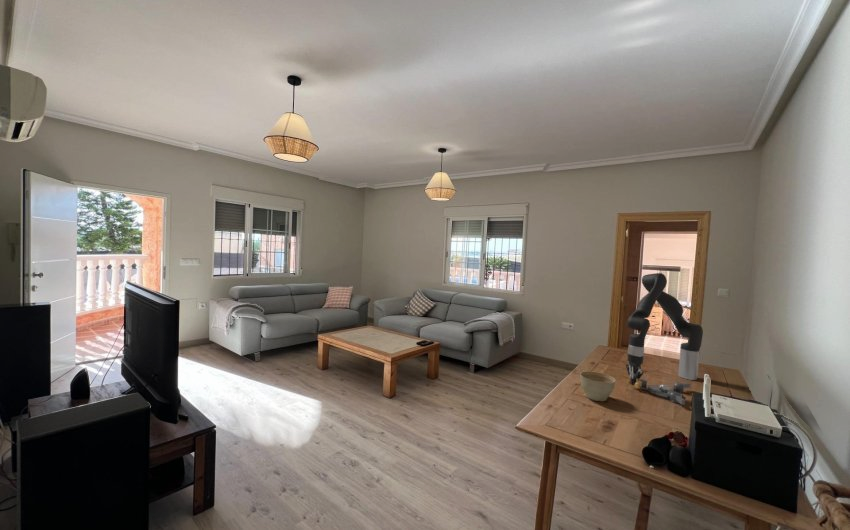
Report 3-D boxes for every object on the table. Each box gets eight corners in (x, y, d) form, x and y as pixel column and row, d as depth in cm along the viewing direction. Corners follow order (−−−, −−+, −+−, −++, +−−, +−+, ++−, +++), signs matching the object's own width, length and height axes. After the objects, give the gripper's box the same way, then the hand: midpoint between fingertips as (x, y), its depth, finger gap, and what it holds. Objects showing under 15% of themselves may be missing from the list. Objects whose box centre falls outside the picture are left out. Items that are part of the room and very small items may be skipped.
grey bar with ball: (679, 391, 191) (680, 385, 191) (671, 388, 195) (672, 382, 195) (692, 389, 194) (693, 383, 194) (684, 386, 198) (685, 380, 198)
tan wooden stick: (639, 383, 200) (639, 378, 200) (647, 386, 196) (648, 380, 196) (631, 387, 194) (631, 381, 193) (640, 390, 190) (640, 384, 190)
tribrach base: (643, 382, 206) (643, 375, 205) (683, 392, 193) (684, 384, 193) (635, 392, 189) (636, 385, 189) (679, 404, 177) (680, 396, 177)
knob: (667, 397, 182) (668, 390, 182) (677, 398, 181) (677, 391, 181) (678, 405, 172) (678, 399, 172) (688, 406, 171) (688, 400, 171)
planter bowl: (612, 407, 169) (614, 385, 169) (576, 398, 178) (577, 377, 177) (615, 396, 183) (616, 375, 182) (581, 388, 191) (582, 368, 191)
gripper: (622, 349, 201) (619, 379, 202) (636, 357, 188) (633, 389, 189) (635, 350, 201) (632, 380, 203) (650, 357, 188) (647, 390, 189)
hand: (633, 384), depth 196 cm, fingers closed
